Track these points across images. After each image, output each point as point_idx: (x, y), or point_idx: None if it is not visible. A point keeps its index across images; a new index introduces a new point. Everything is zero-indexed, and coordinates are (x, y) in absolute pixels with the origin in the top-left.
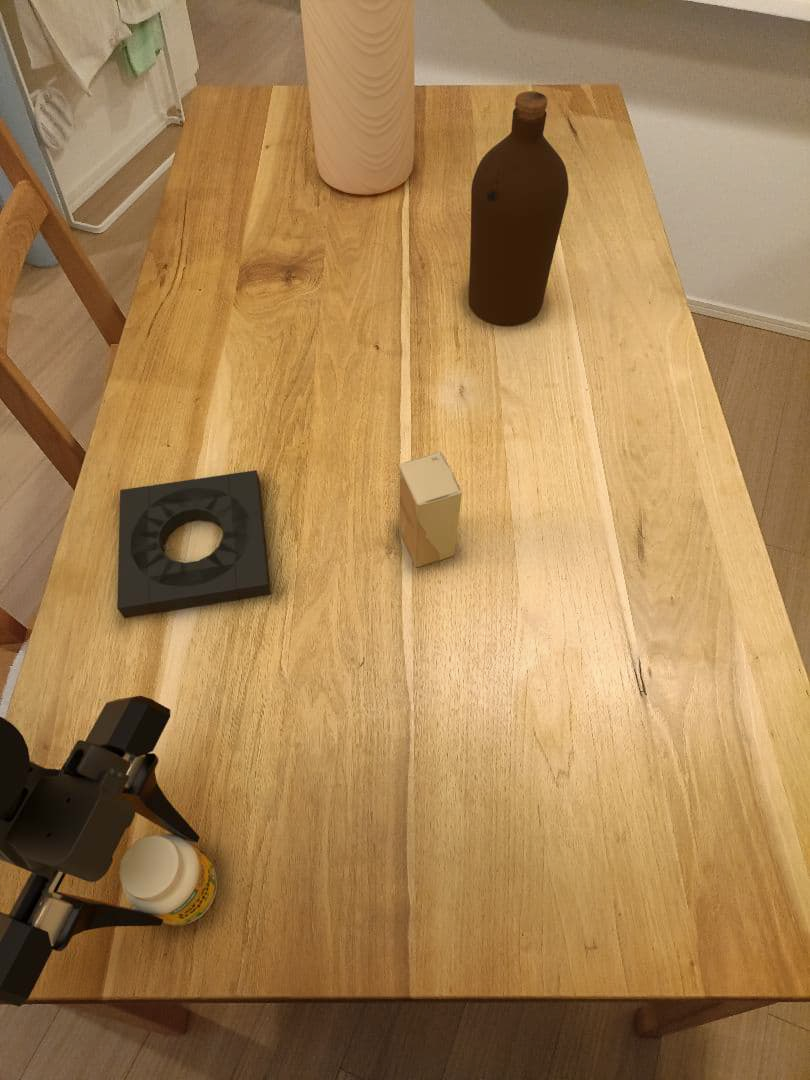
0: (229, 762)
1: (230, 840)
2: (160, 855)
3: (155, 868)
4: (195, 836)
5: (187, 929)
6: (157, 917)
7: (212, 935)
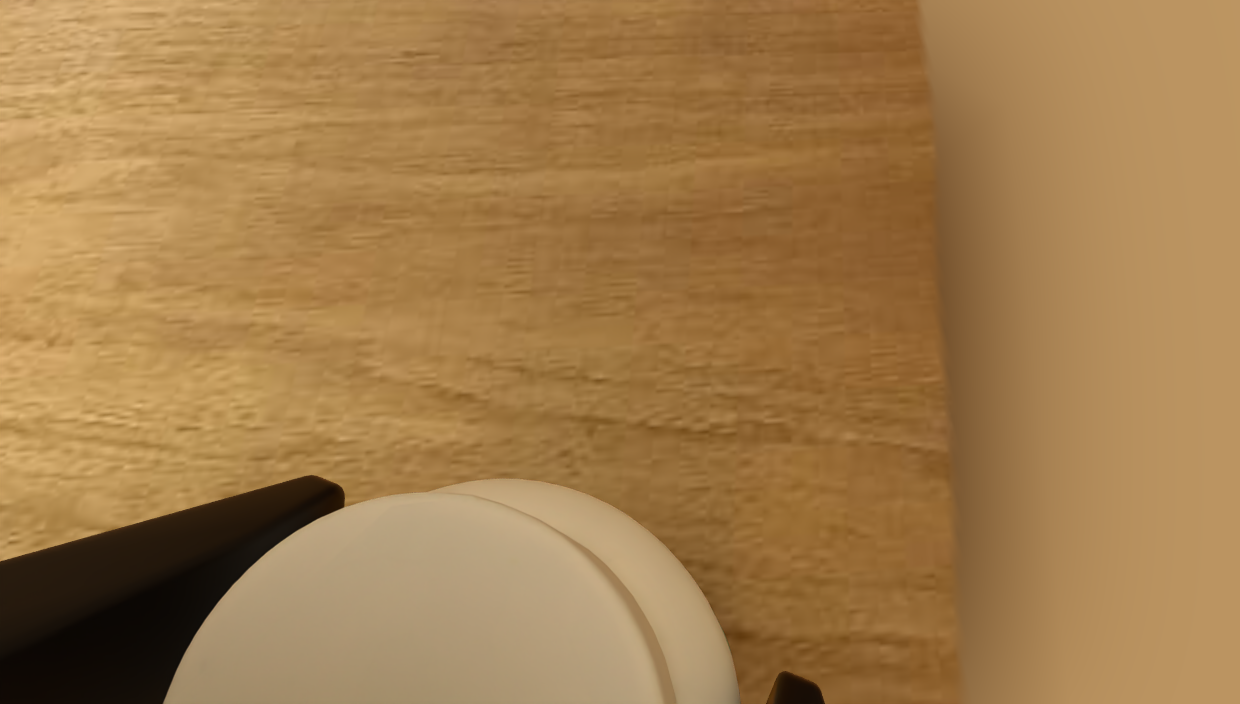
0: None
1: None
2: (331, 654)
3: (431, 692)
4: (296, 486)
5: (737, 670)
6: (776, 702)
7: (761, 561)
